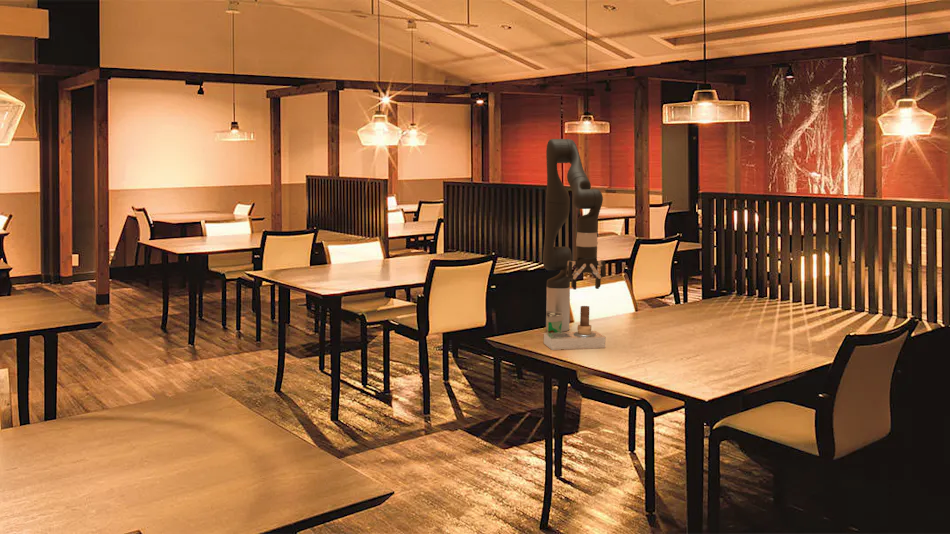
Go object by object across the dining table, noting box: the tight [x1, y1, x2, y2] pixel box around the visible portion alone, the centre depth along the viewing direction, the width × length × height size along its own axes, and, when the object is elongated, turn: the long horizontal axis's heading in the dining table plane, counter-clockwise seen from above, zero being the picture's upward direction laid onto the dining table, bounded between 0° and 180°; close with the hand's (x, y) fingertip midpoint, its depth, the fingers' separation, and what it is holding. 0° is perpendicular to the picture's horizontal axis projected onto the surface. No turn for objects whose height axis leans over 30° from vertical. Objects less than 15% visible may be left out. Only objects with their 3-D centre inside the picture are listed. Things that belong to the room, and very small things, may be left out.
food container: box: [545, 311, 564, 333], centre depth 325 cm, size 12×6×10 cm, turn 179°
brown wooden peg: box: [577, 305, 592, 335], centre depth 315 cm, size 5×5×10 cm
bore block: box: [543, 330, 606, 351], centre depth 315 cm, size 11×20×4 cm, turn 100°
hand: (585, 288), depth 314 cm, fingers open, 8 cm apart
